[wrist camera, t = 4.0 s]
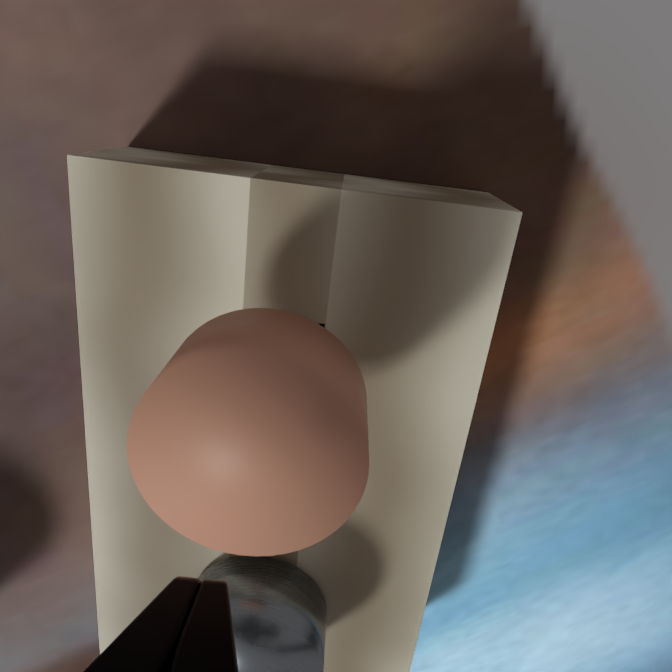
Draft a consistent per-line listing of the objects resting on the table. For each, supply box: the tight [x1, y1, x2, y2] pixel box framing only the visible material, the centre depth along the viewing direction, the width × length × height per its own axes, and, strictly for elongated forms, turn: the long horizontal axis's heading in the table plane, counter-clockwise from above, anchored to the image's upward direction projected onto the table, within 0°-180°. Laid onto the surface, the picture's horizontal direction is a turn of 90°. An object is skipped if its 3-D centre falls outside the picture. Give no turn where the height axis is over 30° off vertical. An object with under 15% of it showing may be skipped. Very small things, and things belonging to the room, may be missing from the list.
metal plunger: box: [198, 556, 327, 672], centre depth 20 cm, size 5×5×6 cm
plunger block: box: [67, 147, 523, 672], centre depth 20 cm, size 12×20×4 cm, turn 173°
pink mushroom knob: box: [127, 308, 369, 556], centre depth 14 cm, size 5×5×6 cm
